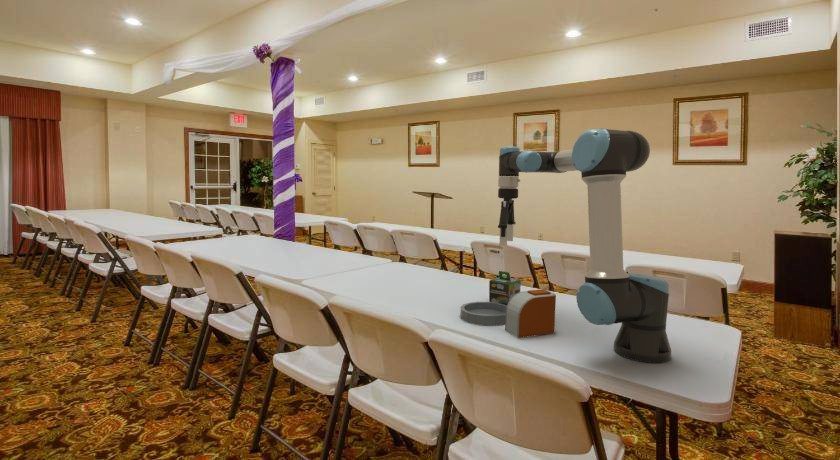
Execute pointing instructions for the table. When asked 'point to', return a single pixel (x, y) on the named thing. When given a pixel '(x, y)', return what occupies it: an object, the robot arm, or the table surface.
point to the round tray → (484, 313)
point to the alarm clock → (531, 313)
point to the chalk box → (503, 288)
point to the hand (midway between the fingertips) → (506, 243)
